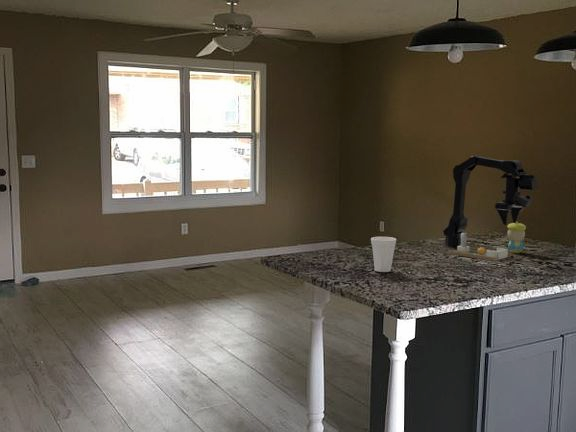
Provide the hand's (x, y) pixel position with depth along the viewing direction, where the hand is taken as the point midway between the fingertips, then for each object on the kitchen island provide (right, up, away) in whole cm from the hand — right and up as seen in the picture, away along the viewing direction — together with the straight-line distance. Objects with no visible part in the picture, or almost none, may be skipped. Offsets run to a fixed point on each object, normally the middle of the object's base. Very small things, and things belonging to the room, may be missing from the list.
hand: (509, 223), depth 279 cm
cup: (-61, -19, -31) cm, 71 cm away
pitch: (-14, -15, 0) cm, 20 cm away
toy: (+5, -14, +7) cm, 16 cm away
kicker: (-19, -13, +6) cm, 24 cm away
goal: (-8, -15, -6) cm, 18 cm away
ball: (-13, -12, -1) cm, 18 cm away
